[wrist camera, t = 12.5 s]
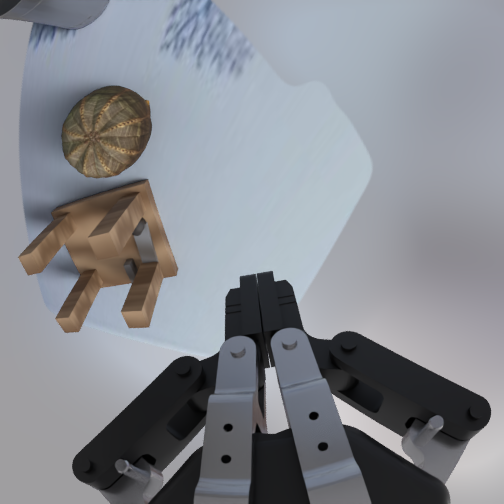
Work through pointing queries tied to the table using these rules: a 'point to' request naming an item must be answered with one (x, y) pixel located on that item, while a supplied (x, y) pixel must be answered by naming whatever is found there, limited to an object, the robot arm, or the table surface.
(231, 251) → the table surface
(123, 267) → the wooden peg stand
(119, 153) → the shell
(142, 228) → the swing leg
